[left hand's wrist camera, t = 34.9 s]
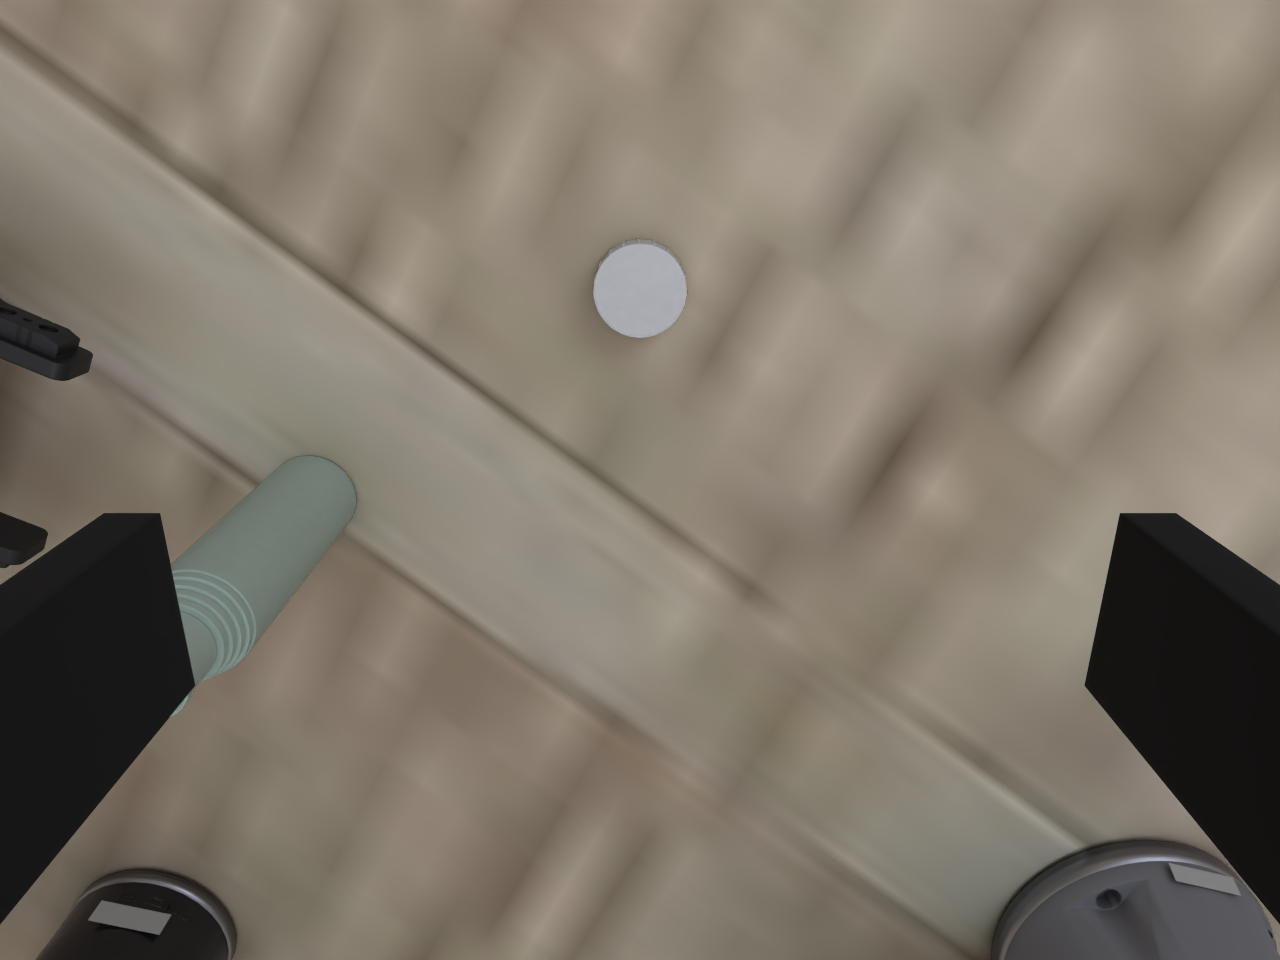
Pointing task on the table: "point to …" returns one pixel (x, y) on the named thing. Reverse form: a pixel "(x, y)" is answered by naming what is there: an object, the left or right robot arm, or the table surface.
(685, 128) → the table surface
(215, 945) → the right robot arm
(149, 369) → the table surface
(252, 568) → the bottle
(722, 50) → the table surface
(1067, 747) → the table surface
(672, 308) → the cap
